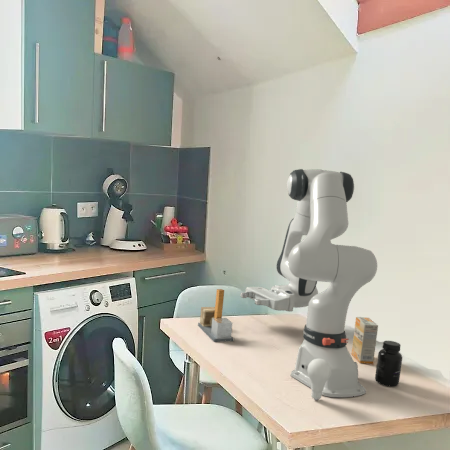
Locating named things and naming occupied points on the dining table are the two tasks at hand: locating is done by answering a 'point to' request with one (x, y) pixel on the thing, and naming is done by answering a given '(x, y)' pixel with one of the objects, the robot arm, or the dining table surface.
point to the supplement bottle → (389, 364)
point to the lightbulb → (318, 376)
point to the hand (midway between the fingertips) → (248, 298)
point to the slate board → (208, 331)
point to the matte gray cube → (221, 328)
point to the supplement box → (364, 340)
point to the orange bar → (218, 304)
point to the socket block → (206, 315)
